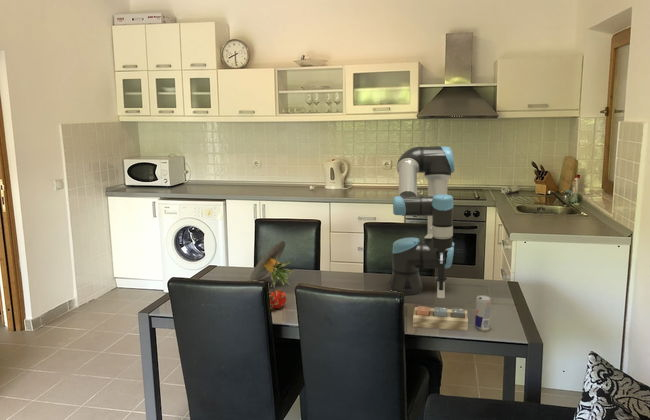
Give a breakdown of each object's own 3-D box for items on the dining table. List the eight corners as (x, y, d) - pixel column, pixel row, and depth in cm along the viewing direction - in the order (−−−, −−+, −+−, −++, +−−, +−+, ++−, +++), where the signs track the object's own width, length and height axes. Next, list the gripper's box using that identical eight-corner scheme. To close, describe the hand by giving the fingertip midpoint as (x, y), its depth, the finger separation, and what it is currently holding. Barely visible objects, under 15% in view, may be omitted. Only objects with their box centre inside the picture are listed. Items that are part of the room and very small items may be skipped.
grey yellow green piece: (258, 309, 242) (291, 273, 234) (234, 280, 247) (265, 243, 238) (285, 298, 265) (316, 264, 256) (263, 271, 269) (292, 237, 261)
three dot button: (434, 317, 204) (434, 311, 203) (434, 313, 208) (434, 306, 208) (446, 318, 203) (446, 311, 202) (446, 314, 207) (446, 307, 207)
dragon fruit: (265, 316, 220) (283, 310, 231) (279, 307, 216) (296, 302, 226) (256, 297, 223) (274, 292, 233) (270, 288, 219) (288, 284, 229)
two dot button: (451, 318, 202) (452, 312, 202) (451, 314, 207) (452, 307, 206) (464, 319, 201) (464, 312, 201) (463, 315, 206) (464, 308, 205)
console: (412, 326, 203) (413, 317, 202) (414, 315, 214) (414, 307, 213) (467, 330, 199) (467, 321, 198) (466, 318, 209) (467, 310, 208)
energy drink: (475, 324, 204) (476, 294, 201) (490, 326, 202) (491, 295, 200) (474, 330, 199) (475, 299, 196) (490, 331, 197) (491, 300, 195)
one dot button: (416, 316, 205) (416, 309, 205) (417, 312, 210) (417, 305, 209) (428, 317, 204) (429, 310, 204) (429, 312, 209) (429, 306, 208)
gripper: (432, 232, 206) (431, 291, 211) (431, 240, 194) (430, 302, 198) (452, 233, 205) (451, 292, 209) (452, 241, 192) (451, 303, 197)
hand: (440, 297), depth 204 cm, fingers closed
